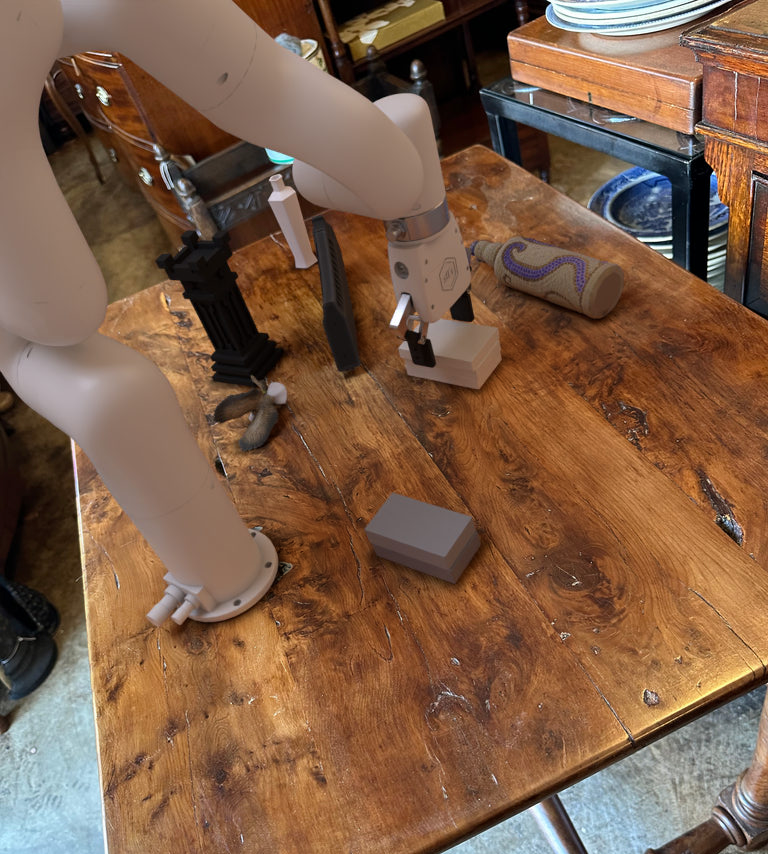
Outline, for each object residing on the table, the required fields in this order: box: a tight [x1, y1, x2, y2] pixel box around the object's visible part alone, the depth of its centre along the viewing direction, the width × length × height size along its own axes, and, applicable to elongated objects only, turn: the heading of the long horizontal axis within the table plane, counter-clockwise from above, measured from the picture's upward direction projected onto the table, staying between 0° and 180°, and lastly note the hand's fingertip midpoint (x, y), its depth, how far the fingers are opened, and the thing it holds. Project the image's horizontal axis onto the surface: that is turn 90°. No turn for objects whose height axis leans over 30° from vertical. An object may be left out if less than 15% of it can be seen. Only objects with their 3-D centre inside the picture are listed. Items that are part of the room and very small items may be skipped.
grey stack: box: [363, 492, 482, 585], centre depth 83 cm, size 6×10×4 cm, turn 56°
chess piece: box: [154, 229, 285, 388], centre depth 110 cm, size 8×8×20 cm
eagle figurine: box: [212, 375, 288, 452], centre depth 104 cm, size 8×7×9 cm
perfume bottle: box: [267, 173, 318, 269], centre depth 128 cm, size 5×4×15 cm
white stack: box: [403, 340, 502, 390], centre depth 103 cm, size 6×11×3 cm, turn 56°
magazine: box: [311, 214, 362, 373], centre depth 115 cm, size 17×3×30 cm
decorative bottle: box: [469, 235, 625, 320], centre depth 109 cm, size 26×8×7 cm, turn 39°
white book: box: [397, 318, 500, 372], centre depth 101 cm, size 7×11×2 cm, turn 56°
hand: (444, 341), depth 101 cm, fingers open, 9 cm apart
